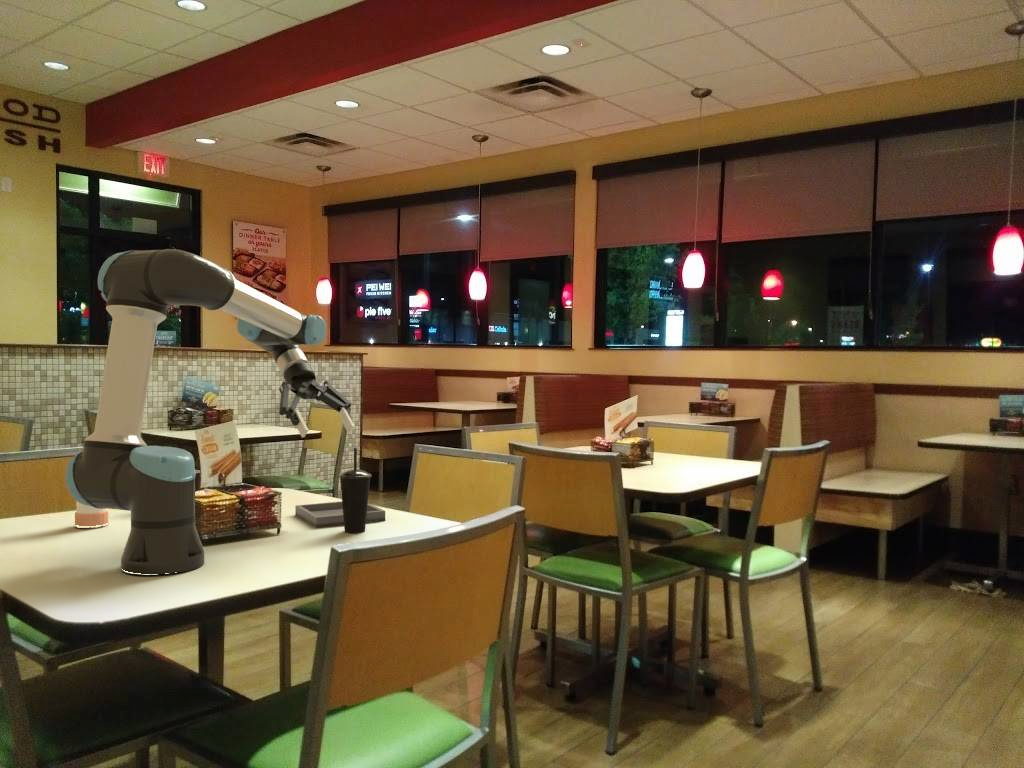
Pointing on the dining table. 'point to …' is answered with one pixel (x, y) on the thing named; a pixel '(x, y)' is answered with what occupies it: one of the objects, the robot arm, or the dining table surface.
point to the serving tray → (333, 514)
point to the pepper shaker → (90, 515)
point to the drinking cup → (355, 497)
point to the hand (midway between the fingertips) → (329, 431)
